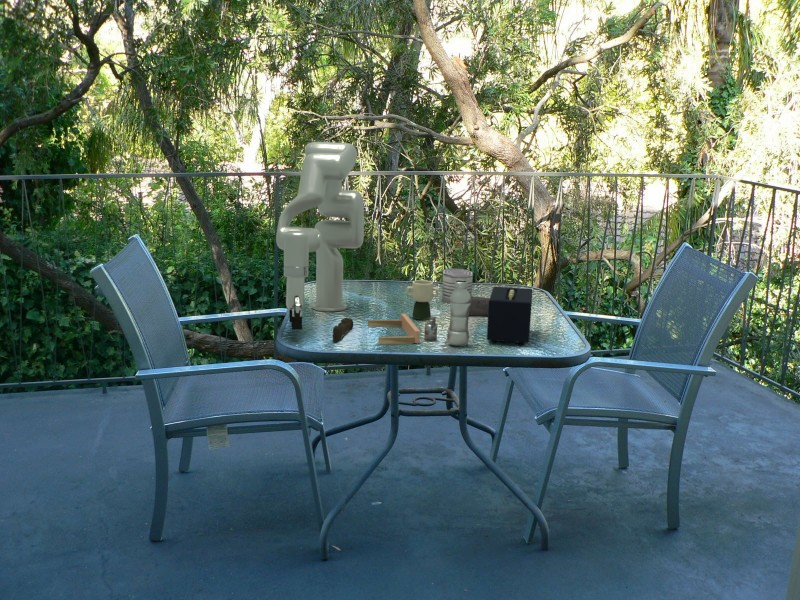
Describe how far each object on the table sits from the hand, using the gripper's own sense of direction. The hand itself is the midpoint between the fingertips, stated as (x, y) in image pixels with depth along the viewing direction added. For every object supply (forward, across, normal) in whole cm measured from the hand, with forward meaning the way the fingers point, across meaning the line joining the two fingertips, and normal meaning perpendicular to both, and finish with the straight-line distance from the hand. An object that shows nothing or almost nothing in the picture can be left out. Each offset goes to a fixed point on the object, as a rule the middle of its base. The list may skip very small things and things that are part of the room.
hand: (295, 325), depth 260 cm
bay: (+3, 0, +30) cm, 30 cm away
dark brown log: (+4, 0, +15) cm, 15 cm away
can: (+3, -46, +64) cm, 78 cm away
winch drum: (+3, +6, +42) cm, 42 cm away
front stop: (+3, 0, +36) cm, 37 cm away
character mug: (+3, -20, +45) cm, 49 cm away
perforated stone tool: (+3, -24, +67) cm, 71 cm away
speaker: (+4, +6, +68) cm, 68 cm away
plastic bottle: (+4, +14, +49) cm, 51 cm away
